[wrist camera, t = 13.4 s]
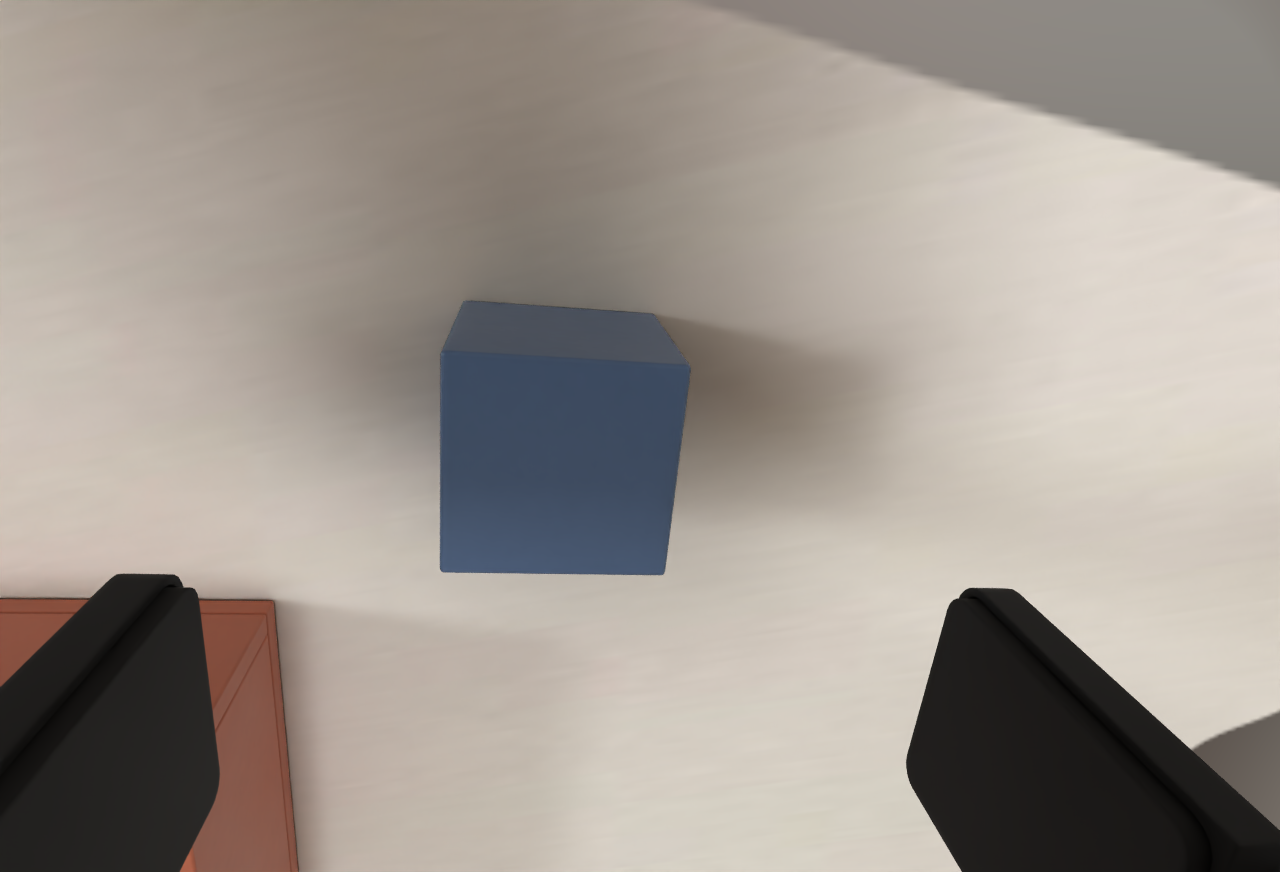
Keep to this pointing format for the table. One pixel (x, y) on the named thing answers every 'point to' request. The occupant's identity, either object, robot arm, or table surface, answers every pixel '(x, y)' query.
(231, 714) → the terracotta bin
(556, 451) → the slate block
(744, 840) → the table surface
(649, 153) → the table surface
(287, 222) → the table surface
